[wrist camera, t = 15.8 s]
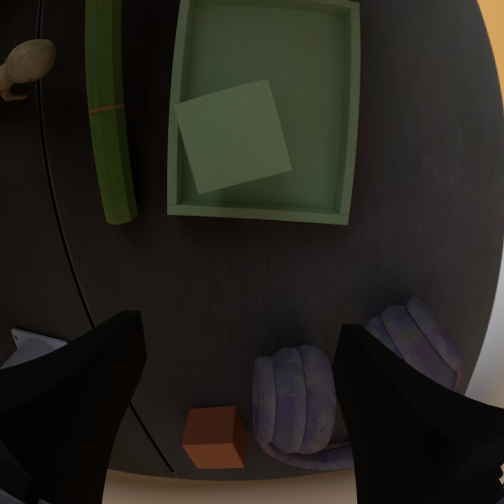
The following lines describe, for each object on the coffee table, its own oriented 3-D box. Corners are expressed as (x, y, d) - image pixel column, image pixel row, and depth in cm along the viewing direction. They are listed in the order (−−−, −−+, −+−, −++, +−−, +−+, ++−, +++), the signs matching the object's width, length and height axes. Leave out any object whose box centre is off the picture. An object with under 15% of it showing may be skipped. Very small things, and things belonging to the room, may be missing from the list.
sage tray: (339, 217, 19) (348, 225, 17) (176, 207, 19) (167, 214, 17) (350, 14, 14) (359, 2, 13) (188, 3, 14) (181, -10, 12)
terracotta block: (246, 431, 27) (244, 467, 23) (203, 434, 27) (198, 468, 23) (235, 405, 25) (232, 443, 21) (189, 408, 26) (181, 444, 22)
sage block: (284, 164, 18) (293, 170, 14) (212, 183, 18) (198, 195, 14) (265, 93, 16) (268, 78, 12) (192, 113, 17) (173, 105, 13)
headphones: (210, 344, 22) (292, 443, 31) (203, 441, 15) (300, 502, 24) (438, 254, 19) (435, 389, 28) (504, 324, 12) (461, 443, 21)
